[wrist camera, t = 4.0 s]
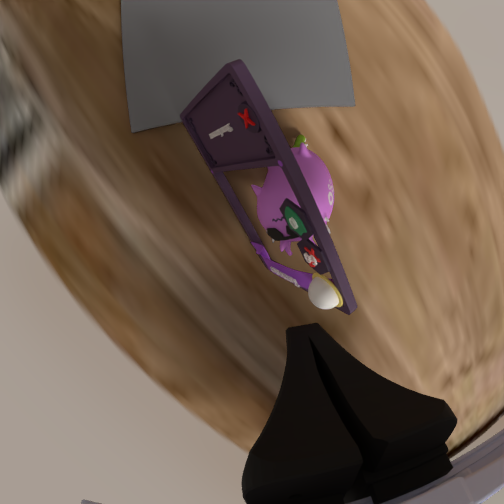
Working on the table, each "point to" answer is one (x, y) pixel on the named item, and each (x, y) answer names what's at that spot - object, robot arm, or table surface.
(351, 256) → the table surface
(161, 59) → the mat
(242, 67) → the purple monster photo frame
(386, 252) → the table surface
